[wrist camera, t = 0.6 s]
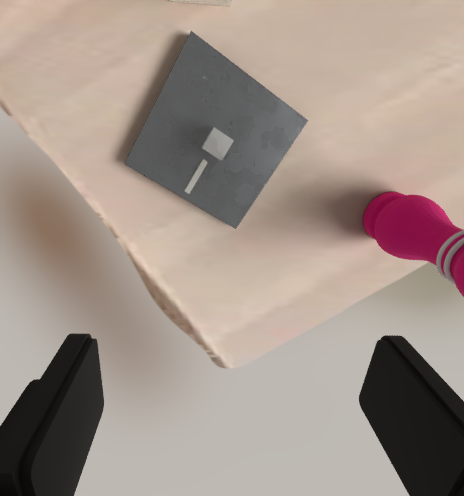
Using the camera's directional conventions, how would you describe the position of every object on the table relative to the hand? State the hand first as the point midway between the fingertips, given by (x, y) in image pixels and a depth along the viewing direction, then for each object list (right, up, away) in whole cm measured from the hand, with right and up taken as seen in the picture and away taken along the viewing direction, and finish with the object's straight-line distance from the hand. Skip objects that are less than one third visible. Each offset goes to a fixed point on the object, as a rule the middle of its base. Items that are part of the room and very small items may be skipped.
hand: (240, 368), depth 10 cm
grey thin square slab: (-2, +16, +23) cm, 28 cm away
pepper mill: (+19, +8, +28) cm, 35 cm away
